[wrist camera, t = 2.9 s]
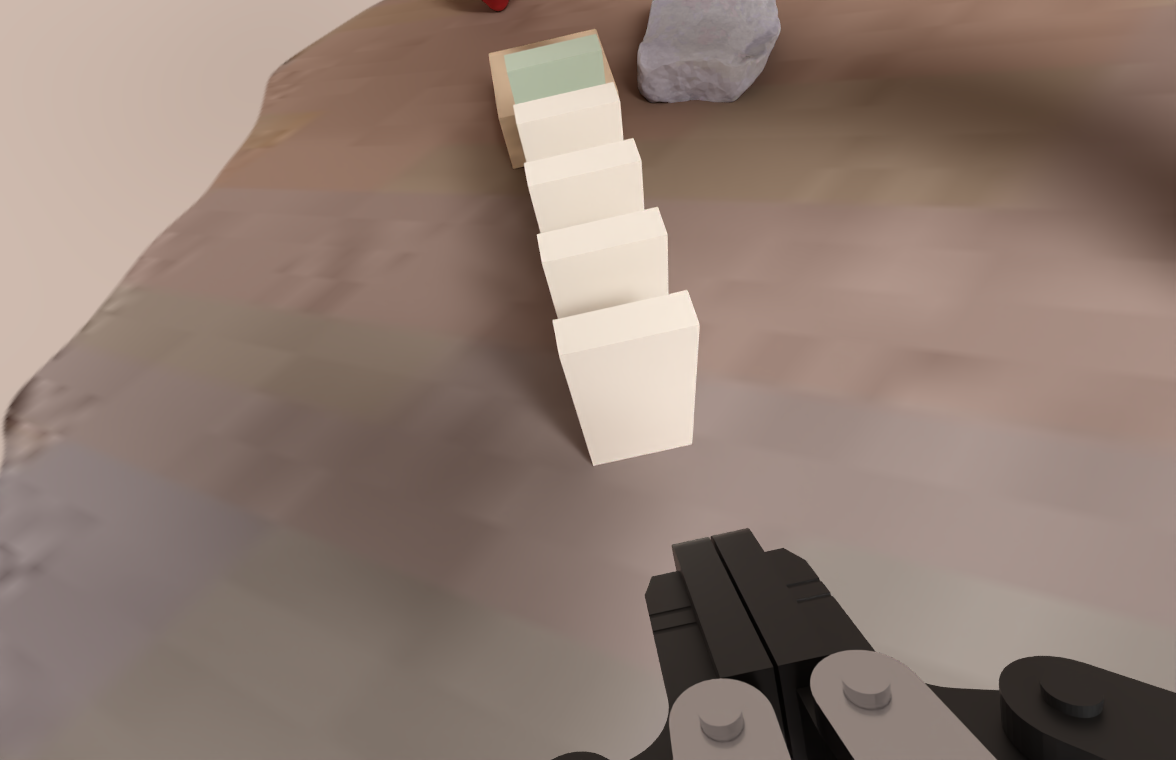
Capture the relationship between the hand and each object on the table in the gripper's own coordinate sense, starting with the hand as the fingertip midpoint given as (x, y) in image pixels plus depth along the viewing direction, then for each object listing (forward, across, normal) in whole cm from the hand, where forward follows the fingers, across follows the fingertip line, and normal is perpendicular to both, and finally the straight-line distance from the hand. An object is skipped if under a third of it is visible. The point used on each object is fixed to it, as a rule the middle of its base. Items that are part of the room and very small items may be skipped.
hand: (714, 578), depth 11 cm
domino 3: (+24, 0, -3) cm, 24 cm away
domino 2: (+27, 0, -6) cm, 28 cm away
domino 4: (+21, 0, 0) cm, 21 cm away
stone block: (+39, -13, -18) cm, 45 cm away
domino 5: (+18, 0, +3) cm, 18 cm away
